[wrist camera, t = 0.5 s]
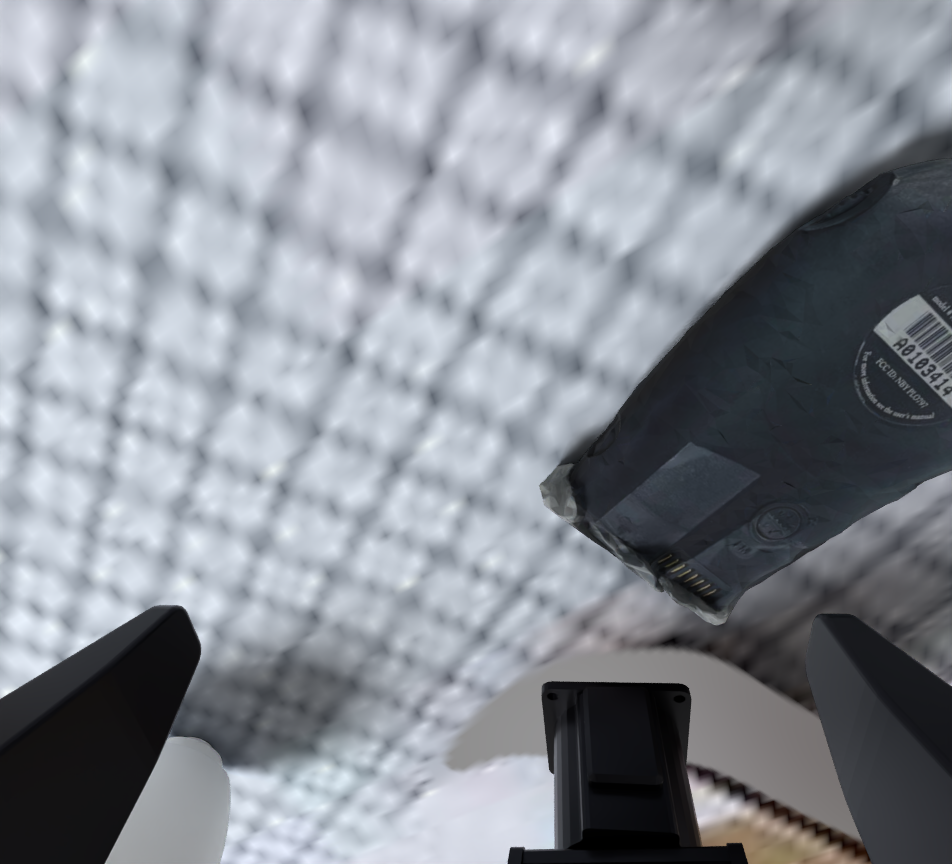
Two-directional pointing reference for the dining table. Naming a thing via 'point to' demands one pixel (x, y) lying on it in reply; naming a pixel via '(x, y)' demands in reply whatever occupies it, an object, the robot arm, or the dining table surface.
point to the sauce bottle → (179, 809)
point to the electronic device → (784, 403)
